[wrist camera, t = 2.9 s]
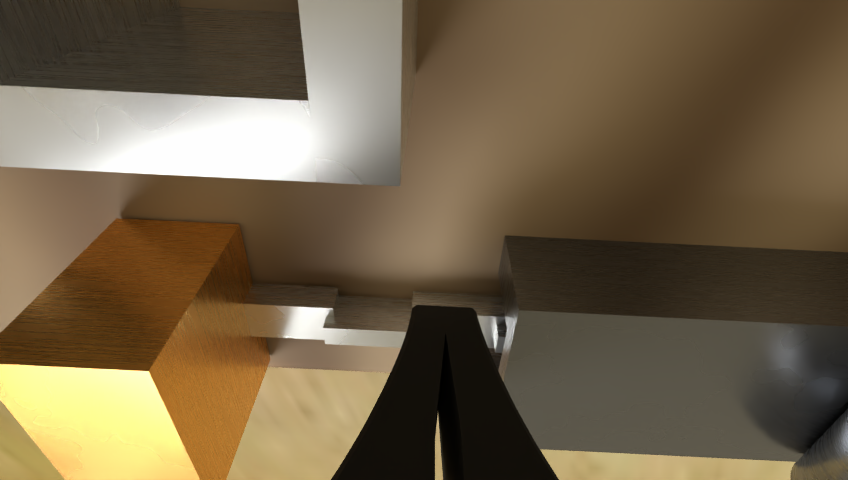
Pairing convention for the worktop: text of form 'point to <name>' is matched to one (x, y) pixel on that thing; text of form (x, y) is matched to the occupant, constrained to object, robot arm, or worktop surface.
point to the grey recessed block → (209, 89)
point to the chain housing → (679, 350)
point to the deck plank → (515, 156)
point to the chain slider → (174, 349)
